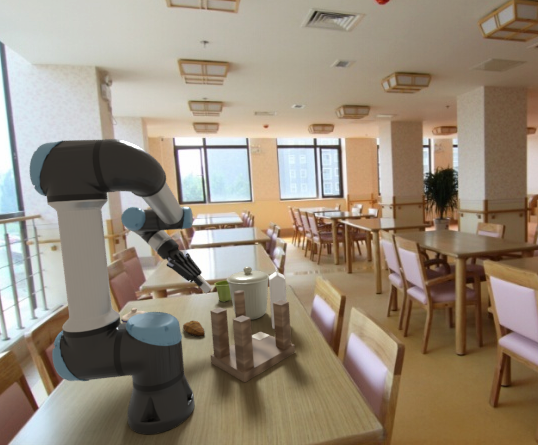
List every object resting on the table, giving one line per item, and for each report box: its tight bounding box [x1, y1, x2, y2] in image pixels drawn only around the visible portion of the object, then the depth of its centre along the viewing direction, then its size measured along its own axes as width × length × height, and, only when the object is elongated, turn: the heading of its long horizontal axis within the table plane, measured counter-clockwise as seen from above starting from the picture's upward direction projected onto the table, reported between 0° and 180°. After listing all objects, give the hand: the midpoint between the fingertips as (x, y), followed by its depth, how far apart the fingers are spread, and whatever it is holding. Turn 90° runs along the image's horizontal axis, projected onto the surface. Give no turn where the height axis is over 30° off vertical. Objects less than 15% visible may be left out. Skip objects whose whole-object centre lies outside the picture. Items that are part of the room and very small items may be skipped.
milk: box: [268, 268, 288, 330], centre depth 121 cm, size 6×6×22 cm
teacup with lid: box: [120, 307, 147, 323], centre depth 118 cm, size 12×9×12 cm
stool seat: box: [210, 300, 296, 383], centre depth 98 cm, size 21×16×16 cm
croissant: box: [182, 320, 206, 338], centre depth 120 cm, size 14×7×5 cm, turn 45°
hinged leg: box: [234, 291, 246, 318], centre depth 106 cm, size 11×4×15 cm, turn 5°
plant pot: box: [214, 279, 232, 303], centre depth 157 cm, size 9×9×9 cm
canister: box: [226, 266, 270, 321], centre depth 133 cm, size 18×18×21 cm
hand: (209, 290), depth 113 cm, fingers closed
